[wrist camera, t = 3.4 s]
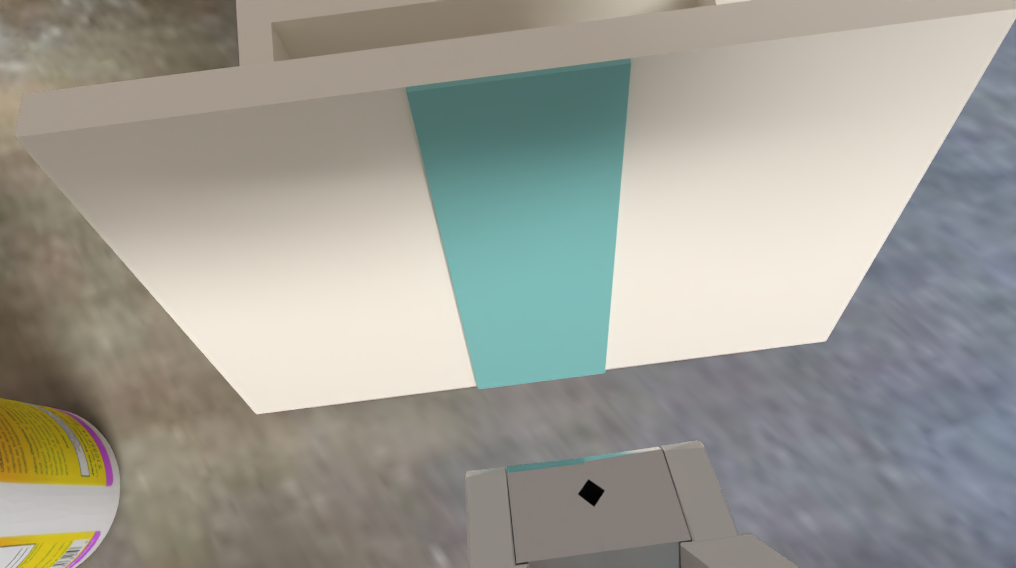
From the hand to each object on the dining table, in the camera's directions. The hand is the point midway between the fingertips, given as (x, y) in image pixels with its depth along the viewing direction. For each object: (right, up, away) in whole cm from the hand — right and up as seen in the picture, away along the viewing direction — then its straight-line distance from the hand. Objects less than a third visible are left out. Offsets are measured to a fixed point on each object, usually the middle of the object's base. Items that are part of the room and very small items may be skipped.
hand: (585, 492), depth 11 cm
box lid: (0, +4, +11) cm, 12 cm away
